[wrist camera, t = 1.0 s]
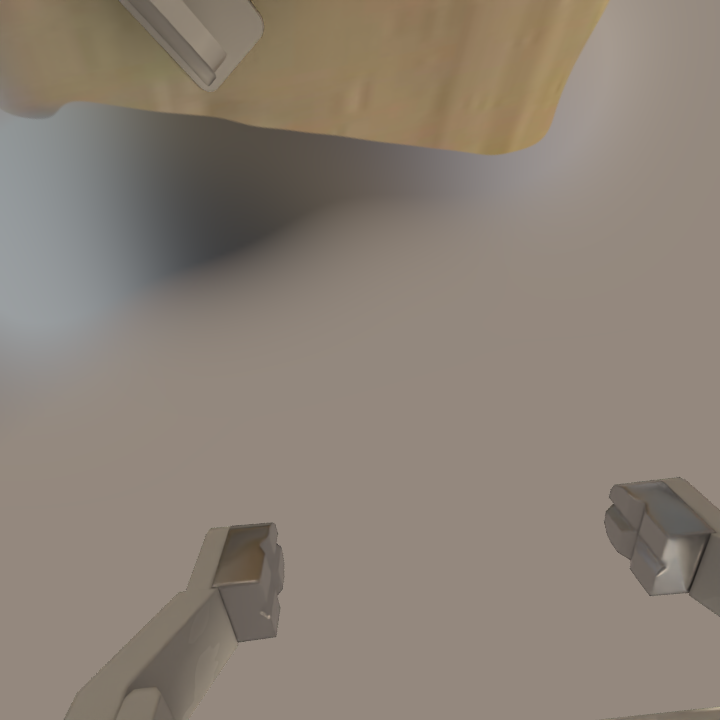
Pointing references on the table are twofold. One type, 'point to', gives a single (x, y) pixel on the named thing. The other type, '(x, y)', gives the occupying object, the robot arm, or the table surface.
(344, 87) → the table surface
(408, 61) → the table surface
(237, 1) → the phone holder
